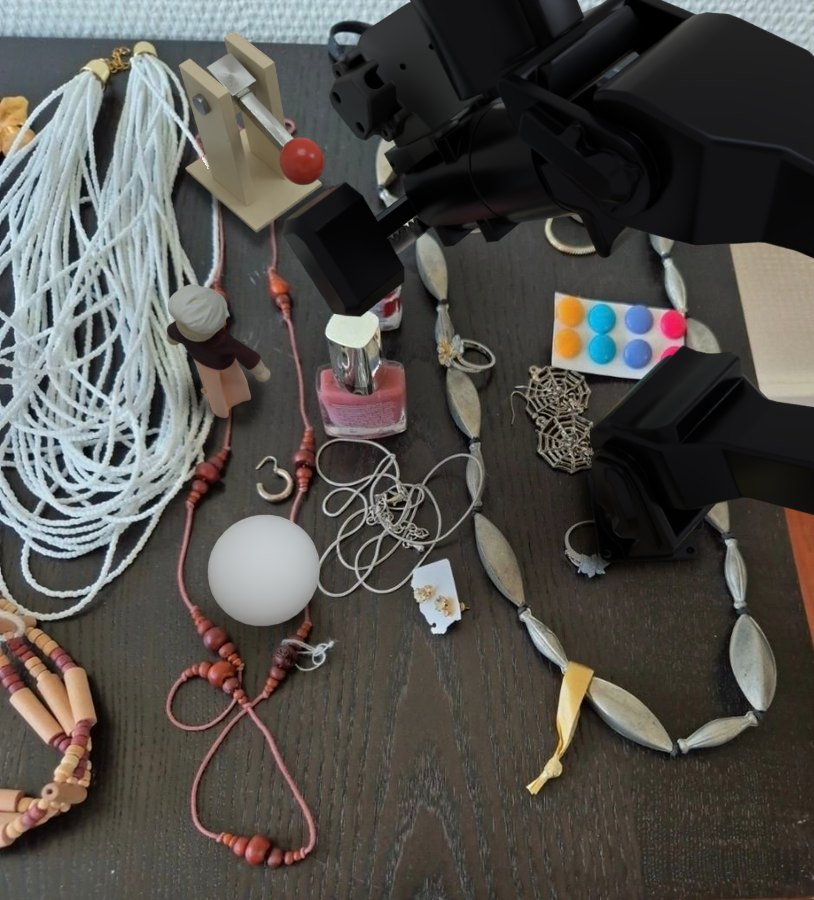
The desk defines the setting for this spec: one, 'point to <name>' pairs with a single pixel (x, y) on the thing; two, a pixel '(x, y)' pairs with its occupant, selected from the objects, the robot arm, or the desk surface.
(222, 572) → the lightbulb
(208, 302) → the grandmother figurine
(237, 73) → the switch lever
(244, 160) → the switch bracket
